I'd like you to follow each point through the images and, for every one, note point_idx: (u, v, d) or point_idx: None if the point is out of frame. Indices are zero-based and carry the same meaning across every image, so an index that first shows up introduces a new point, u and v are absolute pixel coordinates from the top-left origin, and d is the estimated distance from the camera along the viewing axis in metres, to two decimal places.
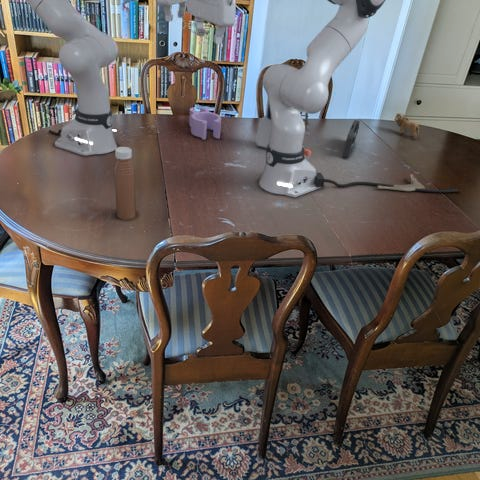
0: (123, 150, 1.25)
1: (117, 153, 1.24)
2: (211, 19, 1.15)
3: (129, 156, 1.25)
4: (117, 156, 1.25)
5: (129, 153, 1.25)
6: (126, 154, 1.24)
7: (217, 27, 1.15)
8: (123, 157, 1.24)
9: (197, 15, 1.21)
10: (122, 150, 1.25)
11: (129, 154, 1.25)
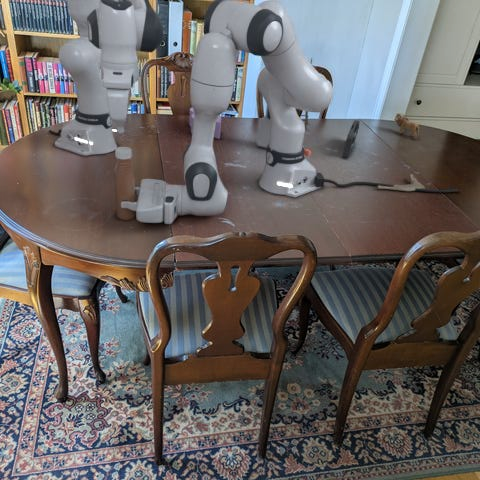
0: (123, 150, 1.25)
1: (117, 153, 1.24)
2: None
3: (129, 156, 1.25)
4: (117, 156, 1.25)
5: (129, 153, 1.25)
6: (126, 154, 1.24)
7: None
8: (123, 157, 1.24)
9: None
10: (122, 150, 1.25)
11: (129, 154, 1.25)
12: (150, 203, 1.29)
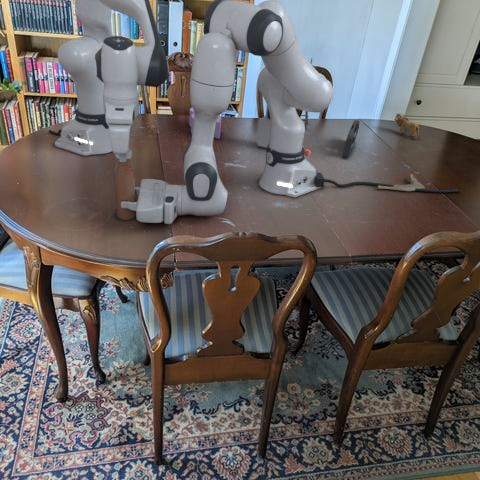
0: None
1: None
2: None
3: (129, 156, 1.25)
4: (117, 156, 1.25)
5: (129, 153, 1.25)
6: (126, 154, 1.24)
7: None
8: None
9: None
10: None
11: (129, 154, 1.25)
12: (150, 203, 1.29)
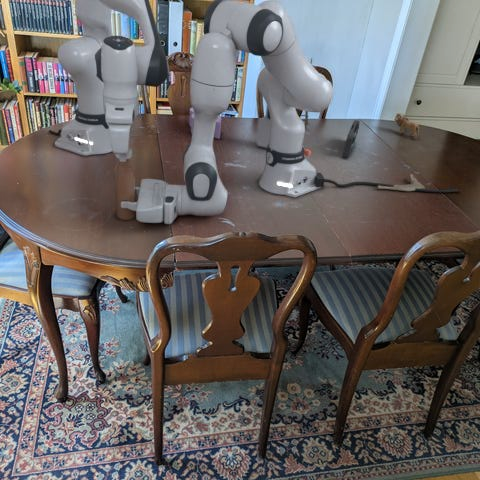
0: None
1: (127, 153, 1.24)
2: None
3: None
4: (127, 157, 1.25)
5: None
6: None
7: None
8: (131, 154, 1.26)
9: None
10: None
11: None
12: (150, 203, 1.29)
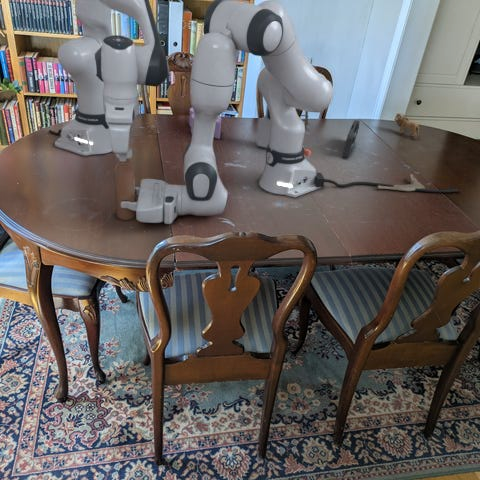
0: None
1: None
2: None
3: None
4: None
5: None
6: None
7: None
8: None
9: None
10: None
11: None
12: (150, 203, 1.29)
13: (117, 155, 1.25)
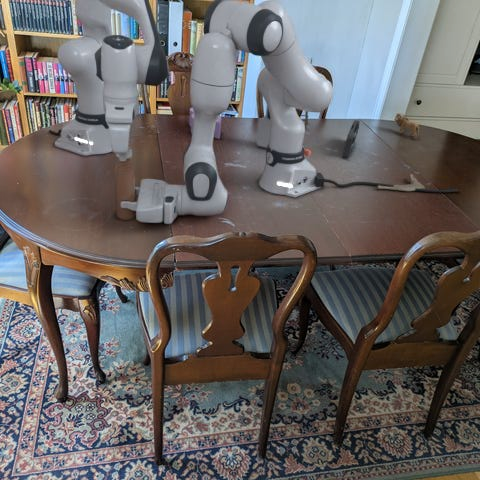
0: None
1: None
2: None
3: None
4: None
5: None
6: None
7: None
8: None
9: None
10: None
11: None
12: (150, 203, 1.28)
13: (126, 156, 1.25)
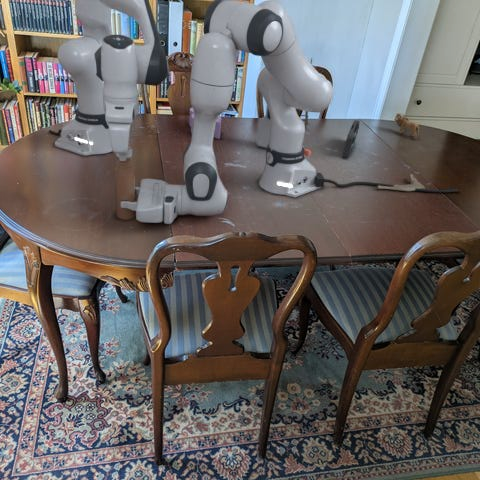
0: None
1: None
2: None
3: None
4: None
5: None
6: None
7: None
8: (117, 154, 1.25)
9: None
10: None
11: None
12: (150, 203, 1.28)
13: None
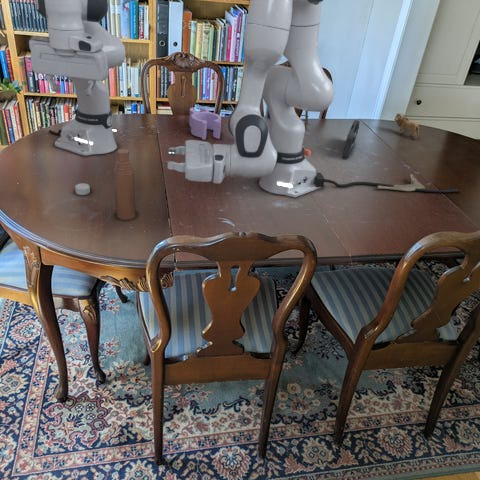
0: (84, 186, 1.45)
1: (87, 189, 1.44)
2: None
3: None
4: (87, 192, 1.44)
5: None
6: None
7: None
8: (89, 189, 1.46)
9: None
10: (84, 186, 1.44)
11: None
12: (199, 161, 1.23)
13: None
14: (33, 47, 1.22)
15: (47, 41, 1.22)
